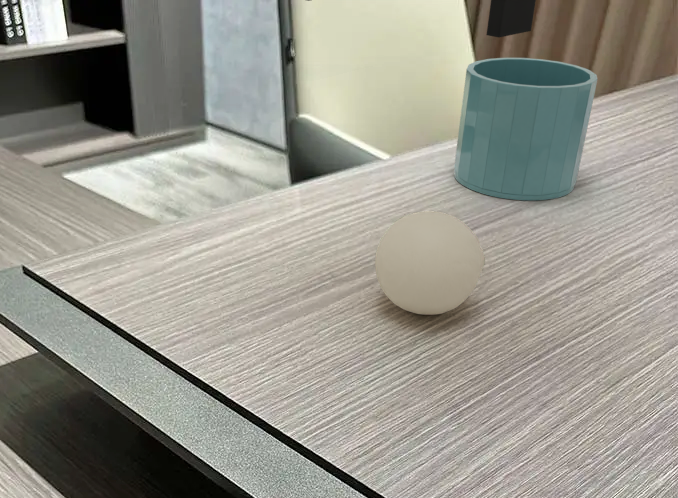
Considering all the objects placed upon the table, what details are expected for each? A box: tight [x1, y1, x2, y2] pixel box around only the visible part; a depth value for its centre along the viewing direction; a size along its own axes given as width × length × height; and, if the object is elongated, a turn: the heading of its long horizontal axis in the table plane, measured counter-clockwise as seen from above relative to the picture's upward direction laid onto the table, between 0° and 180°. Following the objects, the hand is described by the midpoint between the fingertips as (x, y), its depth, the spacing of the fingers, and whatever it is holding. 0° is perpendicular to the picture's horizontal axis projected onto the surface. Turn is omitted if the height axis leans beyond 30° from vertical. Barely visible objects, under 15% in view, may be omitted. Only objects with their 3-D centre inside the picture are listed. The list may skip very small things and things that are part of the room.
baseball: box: [374, 210, 486, 316], centre depth 54 cm, size 7×7×7 cm
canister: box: [453, 57, 598, 201], centre depth 75 cm, size 11×11×10 cm
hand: (405, 14), depth 45 cm, fingers open, 13 cm apart
